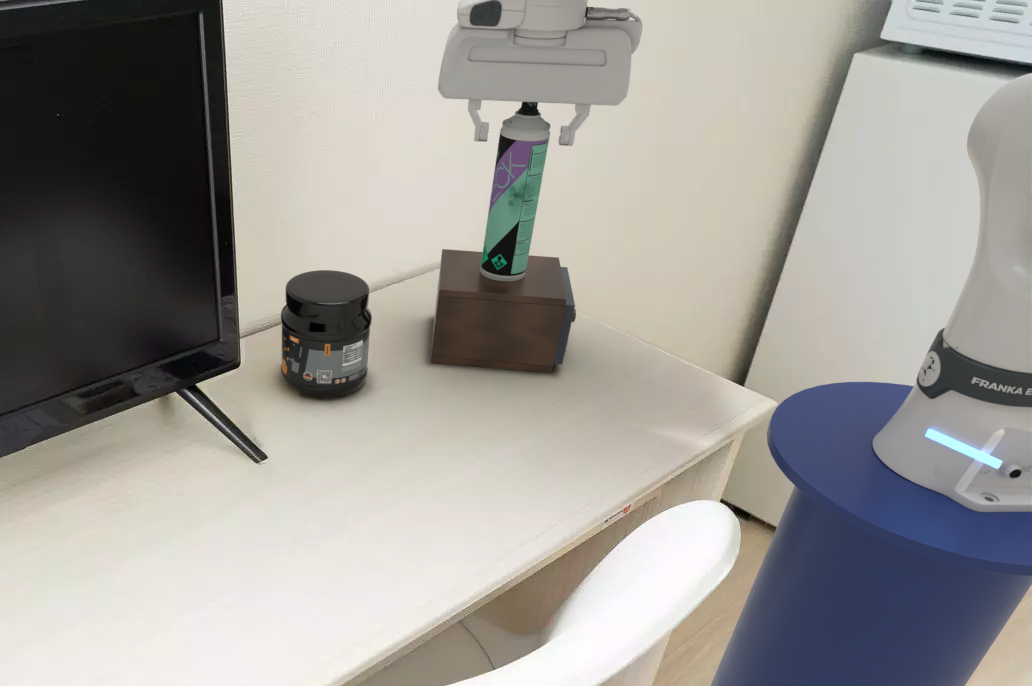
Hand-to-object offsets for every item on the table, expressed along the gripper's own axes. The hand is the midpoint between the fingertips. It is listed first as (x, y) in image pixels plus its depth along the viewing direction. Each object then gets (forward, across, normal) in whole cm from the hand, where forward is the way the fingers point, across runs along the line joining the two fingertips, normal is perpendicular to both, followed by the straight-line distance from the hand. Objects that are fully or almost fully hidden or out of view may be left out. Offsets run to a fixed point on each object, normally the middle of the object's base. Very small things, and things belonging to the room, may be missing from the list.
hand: (522, 142), depth 105 cm
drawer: (+24, -2, 0) cm, 24 cm away
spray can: (+16, 0, 0) cm, 16 cm away
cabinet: (+25, 0, 0) cm, 25 cm away
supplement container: (+25, +20, +13) cm, 35 cm away
